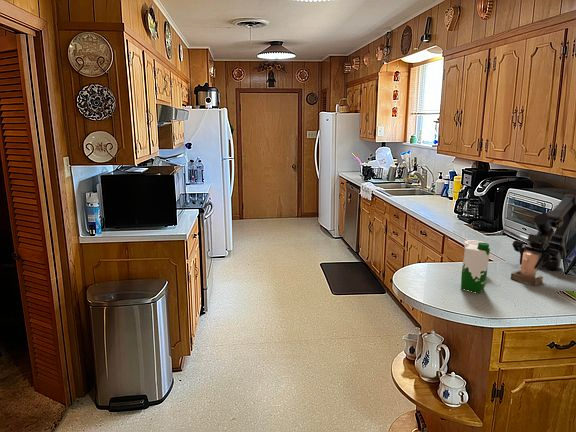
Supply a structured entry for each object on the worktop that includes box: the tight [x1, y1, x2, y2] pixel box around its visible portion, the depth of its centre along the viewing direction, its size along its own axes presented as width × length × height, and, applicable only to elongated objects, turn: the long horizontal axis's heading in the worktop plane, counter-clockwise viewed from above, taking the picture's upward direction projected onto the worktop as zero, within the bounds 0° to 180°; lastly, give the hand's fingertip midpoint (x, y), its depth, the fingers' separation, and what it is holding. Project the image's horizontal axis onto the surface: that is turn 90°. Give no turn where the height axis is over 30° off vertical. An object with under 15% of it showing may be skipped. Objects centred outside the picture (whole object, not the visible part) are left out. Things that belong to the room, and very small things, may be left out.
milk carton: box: [460, 242, 491, 294], centre depth 176 cm, size 9×9×20 cm
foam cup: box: [464, 239, 485, 249], centre depth 199 cm, size 10×9×13 cm
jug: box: [520, 252, 539, 279], centre depth 188 cm, size 8×6×12 cm
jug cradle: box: [510, 269, 544, 286], centre depth 189 cm, size 8×10×2 cm
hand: (527, 266), depth 187 cm, fingers closed on jug, 6 cm apart
